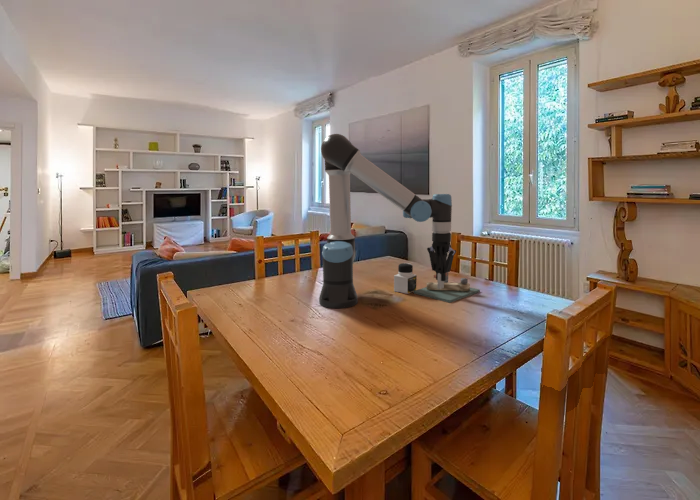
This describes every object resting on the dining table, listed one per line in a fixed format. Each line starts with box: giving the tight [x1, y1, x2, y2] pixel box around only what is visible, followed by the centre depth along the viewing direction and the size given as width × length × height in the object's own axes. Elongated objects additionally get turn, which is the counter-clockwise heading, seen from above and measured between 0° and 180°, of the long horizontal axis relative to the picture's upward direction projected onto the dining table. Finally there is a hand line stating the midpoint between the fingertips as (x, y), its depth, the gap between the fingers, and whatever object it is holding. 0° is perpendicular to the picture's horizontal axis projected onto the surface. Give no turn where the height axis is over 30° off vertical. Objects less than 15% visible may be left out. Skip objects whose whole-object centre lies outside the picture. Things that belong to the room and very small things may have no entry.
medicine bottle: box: [393, 262, 417, 294], centre depth 164 cm, size 7×7×12 cm
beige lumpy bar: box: [426, 281, 471, 291], centre depth 162 cm, size 18×5×2 cm, turn 83°
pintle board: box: [413, 272, 481, 304], centre depth 162 cm, size 22×18×6 cm
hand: (440, 288), depth 159 cm, fingers closed
